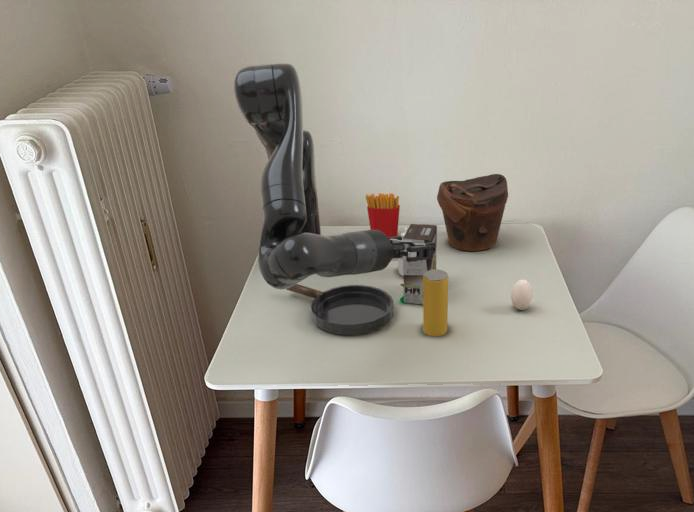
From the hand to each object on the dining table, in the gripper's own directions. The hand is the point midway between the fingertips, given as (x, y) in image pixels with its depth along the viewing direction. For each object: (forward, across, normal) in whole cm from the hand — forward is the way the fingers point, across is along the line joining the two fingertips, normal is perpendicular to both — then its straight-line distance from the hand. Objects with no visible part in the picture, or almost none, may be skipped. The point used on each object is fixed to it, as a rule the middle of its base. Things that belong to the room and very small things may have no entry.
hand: (416, 244), depth 130 cm
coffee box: (+18, +12, +15) cm, 27 cm away
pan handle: (-1, +32, +16) cm, 36 cm away
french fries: (+36, +41, +8) cm, 55 cm away
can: (+8, 0, +19) cm, 21 cm away
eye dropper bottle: (+24, +22, +13) cm, 35 cm away
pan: (+2, +18, +19) cm, 26 cm away
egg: (+27, -10, +16) cm, 33 cm away
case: (+49, +20, +7) cm, 54 cm away
